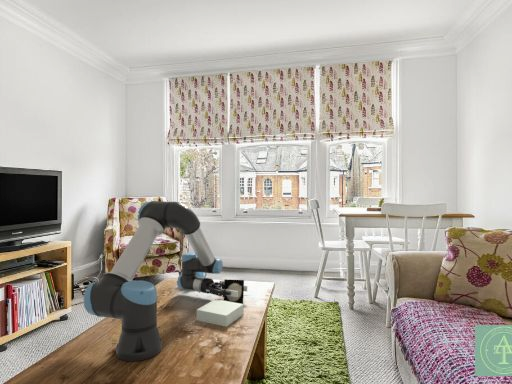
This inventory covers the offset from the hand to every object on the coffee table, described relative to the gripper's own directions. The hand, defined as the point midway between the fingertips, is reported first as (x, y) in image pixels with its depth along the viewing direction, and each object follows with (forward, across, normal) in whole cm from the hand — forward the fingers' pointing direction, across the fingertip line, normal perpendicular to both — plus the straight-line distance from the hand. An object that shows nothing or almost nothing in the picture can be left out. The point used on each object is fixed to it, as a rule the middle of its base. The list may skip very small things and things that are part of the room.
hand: (242, 291), depth 162 cm
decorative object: (-5, 0, -7) cm, 8 cm away
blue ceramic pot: (-41, -16, -7) cm, 44 cm away
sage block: (-1, +18, -7) cm, 19 cm away
